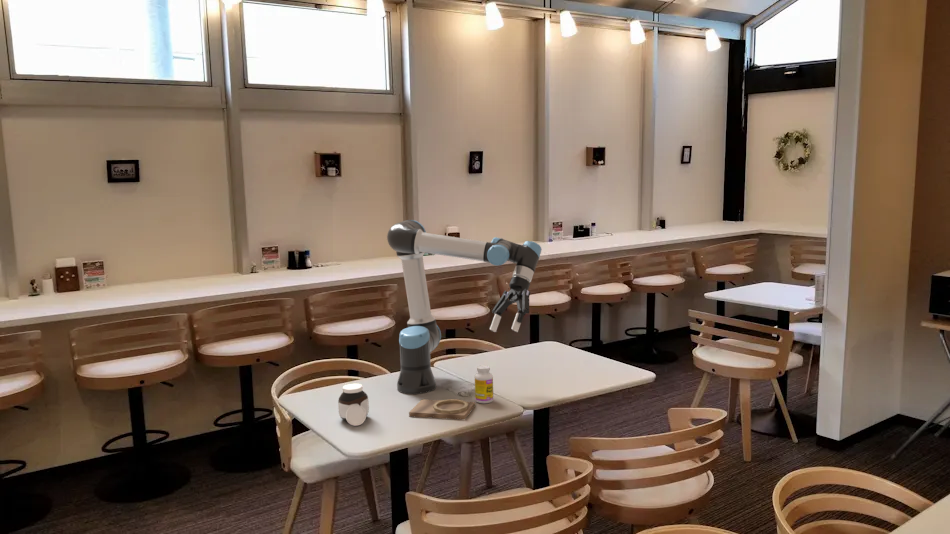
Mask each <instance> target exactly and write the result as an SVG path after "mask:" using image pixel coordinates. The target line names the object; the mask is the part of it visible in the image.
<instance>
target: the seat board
mask: <svg viewBox="0 0 950 534" xmlns="http://www.w3.org/2000/svg"><path fill="white" fill-rule="evenodd" d="M474 406H475V407H476V401H466V400H462V399H455V398H454V399H453V398H449V399H425V398H424V399H421V400H420V401H419V402H418V403H416V404H415V406H413V408H412V409H411V410H410V411H409V412H408V416H409V417H411V416H413V418H414V416H415V417H416V418H428V417H432V418H431V419H446V418H447V419H448V420H449V419H450V420H462V419H465V418H466V419H467V417H468V416H469V415H470V413H471V412H472V411H471V410H474V408H475V407H474ZM470 411H471V412H470ZM468 414H469V415H468ZM466 419H465V420H466Z"/></svg>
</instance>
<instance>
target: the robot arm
mask: <svg viewBox="0 0 950 534" xmlns="http://www.w3.org/2000/svg"><path fill="white" fill-rule="evenodd" d="M386 238H387V239H386V240H387V244H388V245H389V247H390V248H391V249H392V250H393V251H395V252H396V257H397V258H399V259H400V260H401V264H402V271H403V279H404V286H405V292H406V297H407V304H408V305H407V306H408V311H409V319H408V320H407V322H406V324H407V327H406V328H403V329H402V330H400V332H399V337H398V343H399V356H400V357H399V361H400V371H399V375H398V378H397V383H396V390H397V391H398V392H400V393H403V394H409V395H410V394H413V395H414V394H415V395H416V394H424V393H429V392H432V391H434V390H435V389H436V387H437V381H436V379H435V376H434V373H433V371H432V367H431V366H432V365H431V353H432V351H434V350H435V349H436V348H437V347H438V346H439V344H440V342H441V340H442V339H441V338H442V333H441V332H442V331H441V329H440V327H439V326H438V324H437V319H436V317H435V315H432V311H431V303H430V296H429V291H428V284H427V277H426V271H425V263H424V255H425V254H432V255H438V256H444V257H452V258H456V259H465V260H469V261H470V260H471V261H478V262H483V263H488V264H491V265H493V266H502V265H504V264H505V263H507V262H510V263H512V264H513V263H514V264H516V265H515V267H514V270H513V272H512V276H511V278H510V281H509V284H508V286H509V291H506V290H504V291H503V293H502V295H501V297H500V298H499V300H498V301H497V302H496V304H495V306H494V307H493V309H492V310H491V313H492V314H493V317H492V319H491V320H492V321H491V324H490V326H489V330H490V331H491V332H492V333H493V332H494V333H497V332H498V331H497V330H498V328H499V325H500V322H501V319H502V314H503V313H505V311H506V310H507V309H508V308H509V306H511V305H513V304H515V303H516V305H517V307H516V308H517V312H516V314H515V317H514V320H513V322H512V325H511V330H512V331H514V332H516V333H518V332H519V330H520V327H521V324H522V322H523V319H524V318H525V317H524V316H526V314H527V315H528V314H529V313H530V295H531V291H529V289H530V286H531V282H532V280H533V276H534V275H535V272H536V268H537V265H538V263H539V260H540V257H541V254H542V246H541V245H540V244H539V243H537V242H535V241H533V240H531V241H530V240H525V241H524V243H522V244H521V243H520V244H519V243H516V242H513V241H509V240H507V239H504V238H502V237H501V238H500V237H493V238H492V240H491V241H489V242H488V241H482V240H478V239H477V240H476V239H470V238H462V237H457V236H456V237H455V236H451V235H450V236H449V235H444V234H443V235H442V234H435V233H430V232H426V228H425V227H424V225H423V224H422V223H420V222H419V221H417V220H415V219H407V220H402V221H400V222H397V223H395V224H393V225H392V226H391V227H390V228H389V229H388V232H387V235H386Z"/></svg>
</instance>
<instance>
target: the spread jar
mask: <svg viewBox="0 0 950 534" xmlns="http://www.w3.org/2000/svg"><path fill="white" fill-rule="evenodd" d="M369 402H370V401H369V396H368V394H367V393H366V392H365V391H364V389H363V385H362V384H361V383H348V384H344V385H343V386H342V393H341V394H340V395H339V397H338V401H337V406H338V408H337V409H338V414H339V417H340V419H342V420H343V421H345V422H346V421H347V423H348V424H349V425H351V426H355V427H357V426H360V425H362V424H363V423H364V422H365V421H366V418H367V416H368V414H369V411H370V410H369V409H370V406H369Z"/></svg>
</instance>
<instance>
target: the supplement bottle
mask: <svg viewBox="0 0 950 534" xmlns="http://www.w3.org/2000/svg"><path fill="white" fill-rule="evenodd" d="M490 371H491V368H490V365H485V364H483V365H478V366H477V367H476V372H477V373H476V374H475V375H474V397H475V403H478V404H490V403H492V402H493V401H494V376H493V374H492V373H491V372H490Z"/></svg>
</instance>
